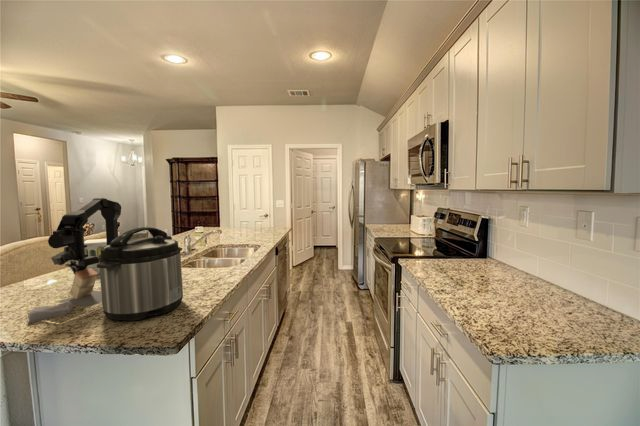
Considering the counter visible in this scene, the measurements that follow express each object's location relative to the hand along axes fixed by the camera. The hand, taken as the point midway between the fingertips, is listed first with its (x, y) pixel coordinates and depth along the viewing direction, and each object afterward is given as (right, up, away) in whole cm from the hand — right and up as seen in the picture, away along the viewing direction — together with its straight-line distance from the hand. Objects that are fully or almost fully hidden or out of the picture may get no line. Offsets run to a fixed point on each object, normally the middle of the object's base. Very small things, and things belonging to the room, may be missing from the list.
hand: (78, 279), depth 131 cm
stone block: (+3, -10, -16) cm, 19 cm away
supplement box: (-22, -5, +43) cm, 48 cm away
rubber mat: (+6, -8, -1) cm, 10 cm away
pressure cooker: (+35, -9, -12) cm, 38 cm away
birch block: (0, -6, +1) cm, 6 cm away
